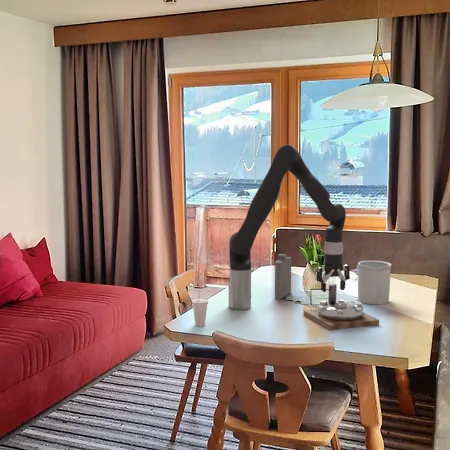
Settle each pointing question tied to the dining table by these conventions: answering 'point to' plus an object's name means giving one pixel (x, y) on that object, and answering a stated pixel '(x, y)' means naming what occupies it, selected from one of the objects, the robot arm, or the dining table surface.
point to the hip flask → (282, 276)
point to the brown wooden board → (340, 321)
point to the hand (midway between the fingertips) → (333, 290)
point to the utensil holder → (374, 282)
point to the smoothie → (200, 310)
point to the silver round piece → (339, 307)
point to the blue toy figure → (355, 270)
